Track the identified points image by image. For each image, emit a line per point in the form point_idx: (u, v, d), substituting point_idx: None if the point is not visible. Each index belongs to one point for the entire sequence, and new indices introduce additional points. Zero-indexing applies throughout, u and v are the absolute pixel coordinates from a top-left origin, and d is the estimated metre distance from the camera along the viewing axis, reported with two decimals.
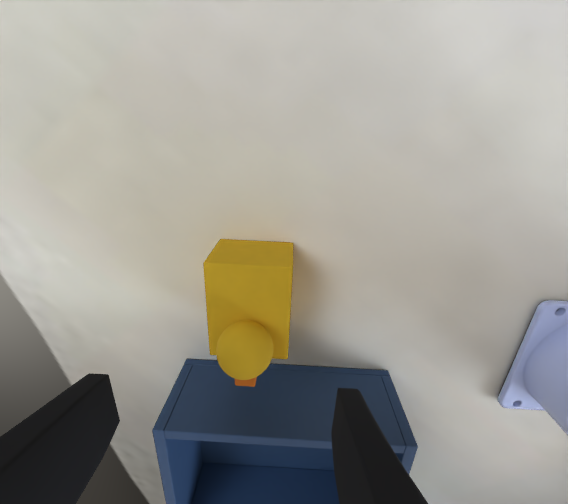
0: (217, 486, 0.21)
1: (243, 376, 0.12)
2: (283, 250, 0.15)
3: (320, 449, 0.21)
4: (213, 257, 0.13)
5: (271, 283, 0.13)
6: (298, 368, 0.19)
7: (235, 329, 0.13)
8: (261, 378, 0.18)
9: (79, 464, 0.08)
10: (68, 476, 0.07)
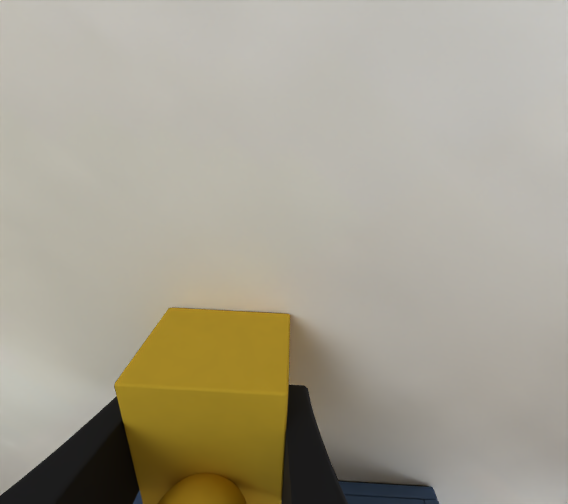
0: None
1: None
2: (271, 336, 0.08)
3: None
4: (139, 366, 0.07)
5: (247, 419, 0.07)
6: None
7: None
8: None
9: None
10: (126, 480, 0.07)
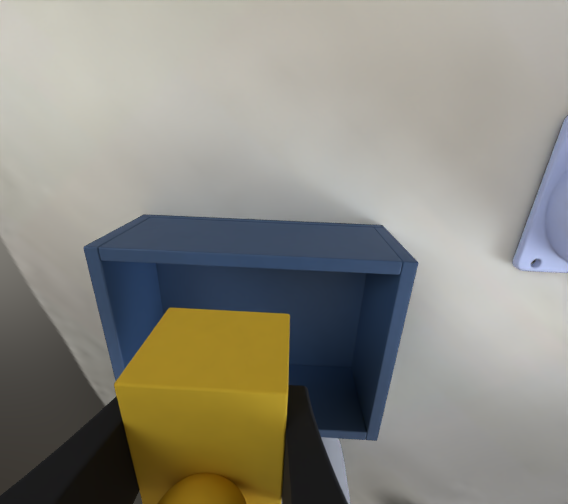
0: None
1: None
2: (271, 336, 0.08)
3: (304, 336, 0.18)
4: (138, 366, 0.07)
5: (246, 419, 0.07)
6: (276, 221, 0.16)
7: None
8: (229, 225, 0.15)
9: None
10: (126, 480, 0.07)
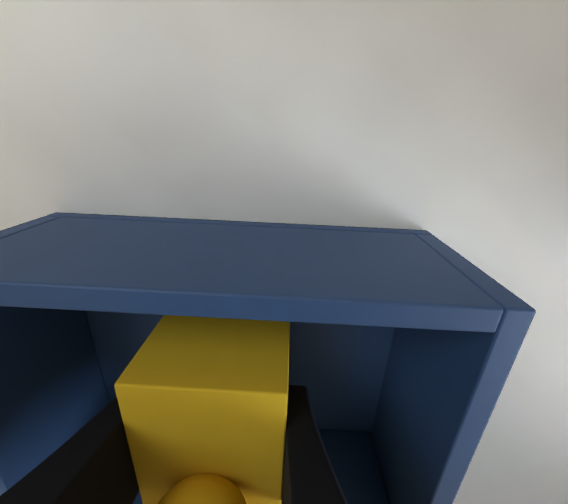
0: None
1: None
2: (271, 336, 0.08)
3: None
4: (139, 366, 0.07)
5: (246, 419, 0.07)
6: (261, 224, 0.10)
7: None
8: (183, 229, 0.09)
9: None
10: (126, 480, 0.07)
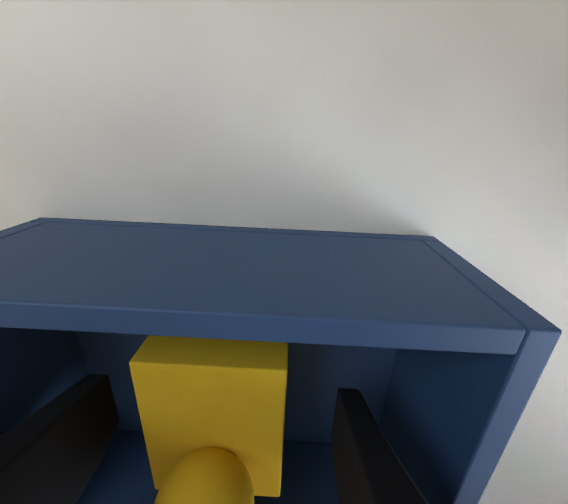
0: (117, 469, 0.11)
1: None
2: None
3: (305, 403, 0.12)
4: (151, 347, 0.08)
5: (249, 395, 0.08)
6: (257, 230, 0.09)
7: (184, 483, 0.07)
8: (175, 236, 0.08)
9: (79, 464, 0.08)
10: (68, 476, 0.07)
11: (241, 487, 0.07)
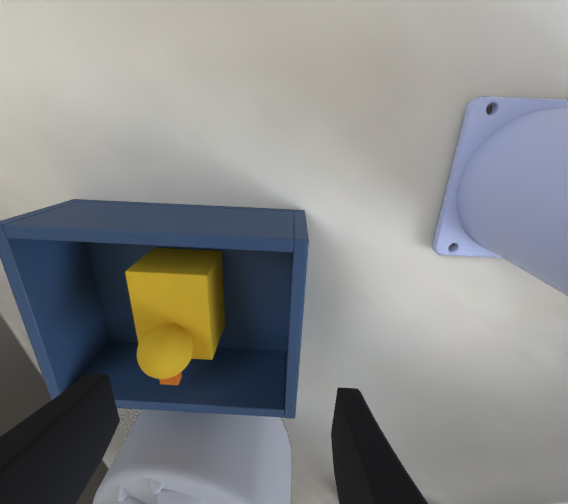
0: (118, 359, 0.18)
1: (158, 375, 0.13)
2: (207, 258, 0.16)
3: (238, 320, 0.19)
4: (137, 266, 0.14)
5: (188, 290, 0.14)
6: (200, 206, 0.16)
7: (153, 332, 0.14)
8: (151, 208, 0.15)
9: (79, 464, 0.08)
10: (68, 476, 0.07)
11: (184, 337, 0.14)
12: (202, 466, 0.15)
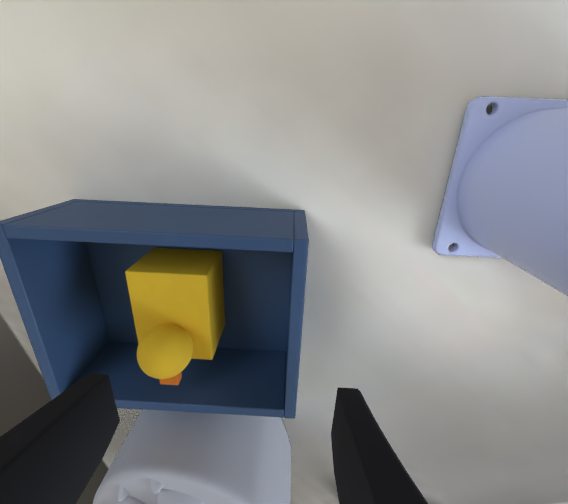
0: (118, 359, 0.18)
1: (158, 375, 0.13)
2: (207, 258, 0.16)
3: (238, 320, 0.19)
4: (137, 266, 0.14)
5: (188, 290, 0.14)
6: (200, 206, 0.16)
7: (153, 332, 0.14)
8: (151, 208, 0.15)
9: (79, 464, 0.08)
10: (68, 476, 0.07)
11: (184, 337, 0.14)
12: (202, 466, 0.15)
